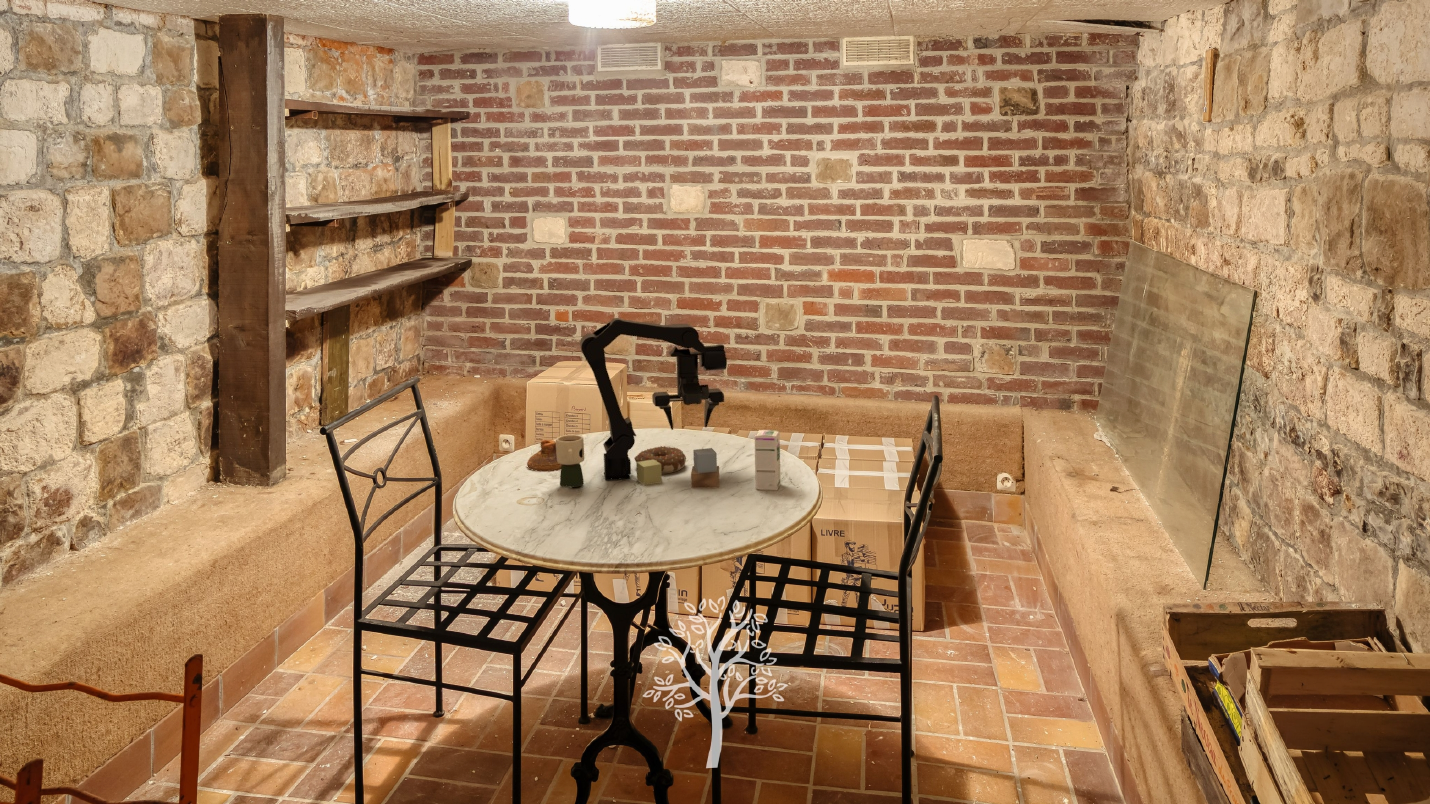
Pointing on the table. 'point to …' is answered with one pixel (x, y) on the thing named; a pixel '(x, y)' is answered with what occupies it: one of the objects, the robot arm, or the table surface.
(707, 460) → the slate cube
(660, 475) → the olive cube
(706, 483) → the walnut slab
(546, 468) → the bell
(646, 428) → the table surface
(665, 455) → the donut
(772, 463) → the syrup box
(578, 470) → the character mug
